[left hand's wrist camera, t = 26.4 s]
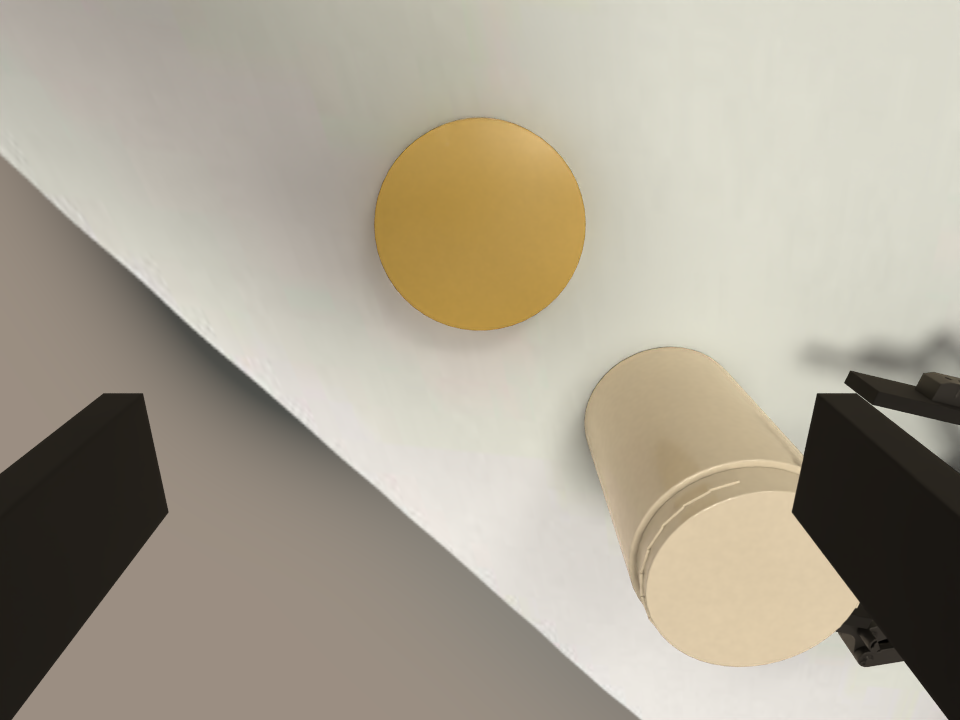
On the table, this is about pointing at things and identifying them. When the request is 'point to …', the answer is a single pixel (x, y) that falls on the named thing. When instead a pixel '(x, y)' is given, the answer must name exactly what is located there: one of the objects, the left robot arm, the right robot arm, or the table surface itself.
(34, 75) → the table surface
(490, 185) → the lid
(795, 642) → the jar
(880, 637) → the right robot arm
